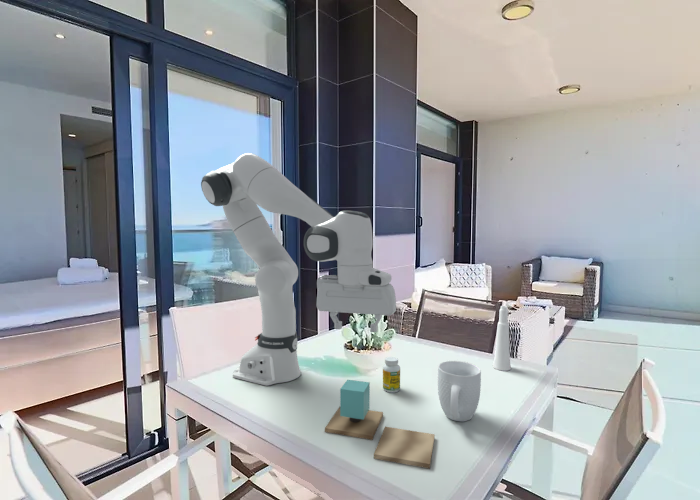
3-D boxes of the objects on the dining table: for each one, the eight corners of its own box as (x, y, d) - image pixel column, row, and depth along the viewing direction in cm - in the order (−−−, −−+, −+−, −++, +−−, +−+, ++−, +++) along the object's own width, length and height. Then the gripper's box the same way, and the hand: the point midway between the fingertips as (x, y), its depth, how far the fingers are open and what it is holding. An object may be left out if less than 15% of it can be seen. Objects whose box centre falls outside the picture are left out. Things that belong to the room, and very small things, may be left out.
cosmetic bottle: (488, 366, 140) (490, 305, 139) (501, 363, 143) (503, 303, 142) (502, 372, 135) (504, 309, 133) (514, 369, 138) (517, 307, 136)
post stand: (324, 431, 97) (324, 396, 96) (340, 409, 108) (340, 377, 107) (372, 439, 93) (372, 403, 93) (383, 415, 105) (383, 382, 104)
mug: (477, 437, 94) (478, 384, 93) (431, 428, 98) (432, 377, 97) (480, 410, 108) (482, 363, 107) (440, 403, 112) (441, 358, 111)
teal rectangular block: (340, 416, 98) (340, 388, 98) (347, 405, 104) (347, 379, 104) (363, 419, 97) (363, 392, 96) (369, 408, 102) (369, 382, 102)
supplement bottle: (392, 384, 125) (392, 354, 124) (403, 390, 120) (404, 359, 120) (379, 388, 122) (379, 357, 121) (390, 394, 118) (390, 363, 117)
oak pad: (373, 458, 86) (373, 454, 86) (385, 430, 97) (385, 426, 97) (429, 468, 83) (429, 464, 82) (434, 438, 94) (434, 434, 94)
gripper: (311, 276, 99) (312, 330, 100) (392, 278, 92) (392, 336, 93) (321, 272, 104) (322, 324, 106) (397, 275, 98) (397, 329, 99)
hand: (355, 330), depth 99 cm, fingers open, 8 cm apart
